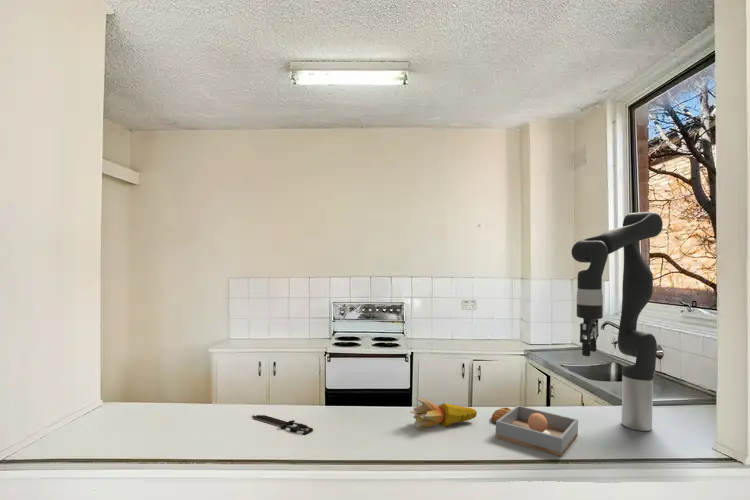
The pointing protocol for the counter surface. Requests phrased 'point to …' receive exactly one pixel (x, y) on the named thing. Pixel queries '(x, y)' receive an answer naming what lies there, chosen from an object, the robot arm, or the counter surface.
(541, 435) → the pen walls
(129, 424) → the counter surface
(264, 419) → the knife
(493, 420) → the pastry
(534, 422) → the brown egg
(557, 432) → the pen board
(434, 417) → the torch
